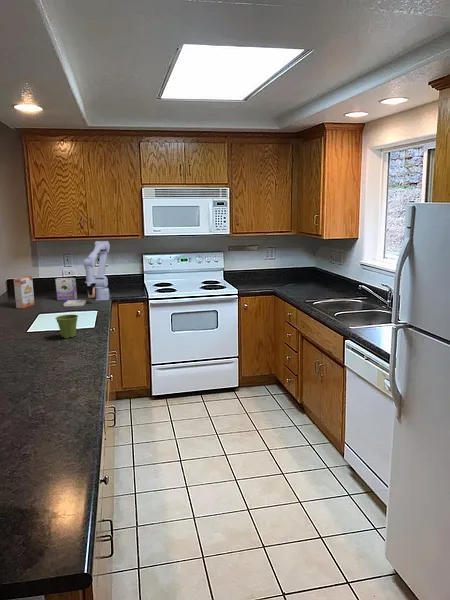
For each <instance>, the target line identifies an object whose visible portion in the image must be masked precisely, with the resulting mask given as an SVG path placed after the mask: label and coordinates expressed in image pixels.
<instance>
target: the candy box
mask: <svg viewBox="0 0 450 600" xmlns="http://www.w3.org/2000/svg"><path fill="white" fill-rule="evenodd" d="M54 282H55V283H54V285H55V291H56V301H57V300H60V301H65V302H66V301H68V300H78V295H77V282H76V277H63V278H62V277H58V278H55V279H54Z"/></svg>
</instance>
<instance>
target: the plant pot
mask: <svg viewBox="0 0 450 600" xmlns="http://www.w3.org/2000/svg"><path fill="white" fill-rule="evenodd" d="M78 317H79V315H78V314H63V315H58V316H55V318H54V319H55V320H56V322H57V324H58V328H59V332H60V335H61V338H62V337H64V338H63V339H70V338H69V337H73V338H74V336H75V337H76V336H77V335H76V334H77V325H78V324H77V323H78Z"/></svg>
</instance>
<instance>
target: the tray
mask: <svg viewBox="0 0 450 600" xmlns="http://www.w3.org/2000/svg"><path fill="white" fill-rule="evenodd" d="M86 303H87V299H76V300H68V301H65V302H64V303H63V307H83V306H84V305H85V304H86Z"/></svg>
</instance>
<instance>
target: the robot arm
mask: <svg viewBox="0 0 450 600" xmlns="http://www.w3.org/2000/svg"><path fill="white" fill-rule="evenodd" d="M110 247H111V245H110V242H109V241H108V240H106V241H105V240H103V241H102V240H99V241H98V240H96V241H95V242H94V248H93V250H92V251H91V252H90V253H89V254H88V256H87V258H85V259H83V263H82V264H83V267H84V270H85V279H86V281H84V283H85V284H86V285H85V288H86V290H87V294H88V293H89V295H92V294H93V287H95V300H94V301H109V300H110V289H109V287H108V285H109V282H108V281H109V280H108V277H107V276H106V268H107V259H108V254H109V253H110ZM98 254H99V255H100V256H98ZM98 257H99V261H98V262H99V263H98V271H97V274H96V275H95V265H96V261H97V259H98Z"/></svg>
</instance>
